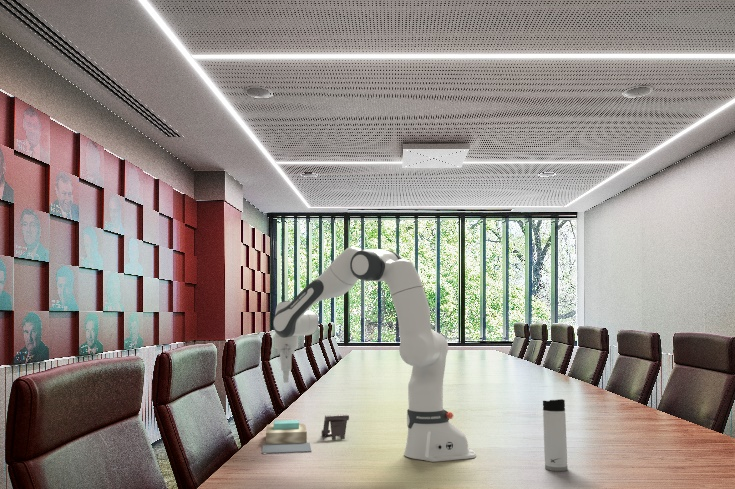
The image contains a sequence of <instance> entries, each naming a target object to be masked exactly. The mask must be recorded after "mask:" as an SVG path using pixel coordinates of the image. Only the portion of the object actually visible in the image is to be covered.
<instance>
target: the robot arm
mask: <svg viewBox="0 0 735 489" xmlns="http://www.w3.org/2000/svg"><path fill="white" fill-rule="evenodd" d="M359 280H361V281H365V282H377V283H378V282H385V283H386V285H387V287H388V289H389V293H390V297H391V300H392V304H393V306H394V310H395V313H396V317H397V322H398V329H399V330H398V331H399V340H400V344H399V348H398V349H399V356H400V358H401V359H402V360H403V361H404V363H406V365H409V366H411V367H412V370H411V376H410V379H409V382H408V386H407V390H408V392H407V393H408V409H407V412H406V426H407V438H406V444H405V448H404V453H403V455H404V456H405V457H407V458H410V459H414V460H422V461H423V460H424V461H427V462H433V463H434V462H445V461H455V460H466V459H474V458H476V457H477V455H476V454H477V453H476V452H475V450H474V449H472V448H471V447H469V444H468V439H467V436H466V434H465V433H464V432H462V431H461V430H460V429H459V428H458V427H457V426H455V425H454V424H453V423H452V422H450V420H452V419H453V418H454V413H453V412H452V411H447V410H445V409H444V396H443V395H444V394H443V393H444V391H443V390H444V388H443V387H444V386H443V385H444V377H445V370H446V362H447V354H448V351H449V344H448V341H447V339H446V338H445V336H443V335H442V334H441V333H439V332H437V331H434V330H432V324H431V315H430V314H431V308H430V303H429V301H428V298H427V294H426V291H425V289H424V287H423V282H422V280H421V278H420V275H419V273H418V270H417V269H416V266H415V265H414V263H413V262H412V261H411V260H409V259H405V258H402V257H401V255H399V254H398V253H396V252H395V251H393V250H389V249H386V250H385V249H381V248H371V249H370V248H364V249H361V248H360V247H357V246H349V247H347V248H346V249H344V250H343V251H342V252H341V253H340V254H339V255H338V256H337V257H336V258H335V259H334V260H332V263H331V264H330V265H329V266H328V267H327V268H326V269H325V270H324V271H323V272H322V273H321V274H320V275H319V276H318V277H316V278H315V279H314V280H313V281H311V282H310V283H309V284H308V285H306V286H305V287H304V288H303V289H302V291H300V293H299V294H297V296H295V298H294V299H292V300H284V301H280V302H279V303H277V305H276V308H275V314H274V317H273V318H272V319H273V320H272V327H273V330H274V332H275V333H274V349H276V350H277V353H278V354H279V359H280V370H281V371H282V375H283V377H282V378H283V383H285V384H286V383H287V384H288V383H289V377H290V372H291V370H292V356H293V354H294V353H295V349H298V348H299V337H302V336H310V335H313V334H315V332H317V330H318V327H319V323H320V322H319V318H318V315H317V313H316V312H315V311H313V310H310V308H312V306H314V305H315V304H317V303H318V302H321V301H324V300H329V299H333V298H339V297H341V296H344V295H345V294H346V293H348V292H349V291H350V290H351V289H352V288H353V286H354V285H355V284H356V283H357V282H358V281H359Z"/></svg>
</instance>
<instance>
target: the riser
mask: <svg viewBox="0 0 735 489" xmlns="http://www.w3.org/2000/svg"><path fill="white" fill-rule="evenodd" d="M307 434H308V432H307V427H306V423H299V429H277V430H274V424H266V431H265V444H284V443H308V442H307V440H308V438H307V437H308V435H307Z"/></svg>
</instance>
